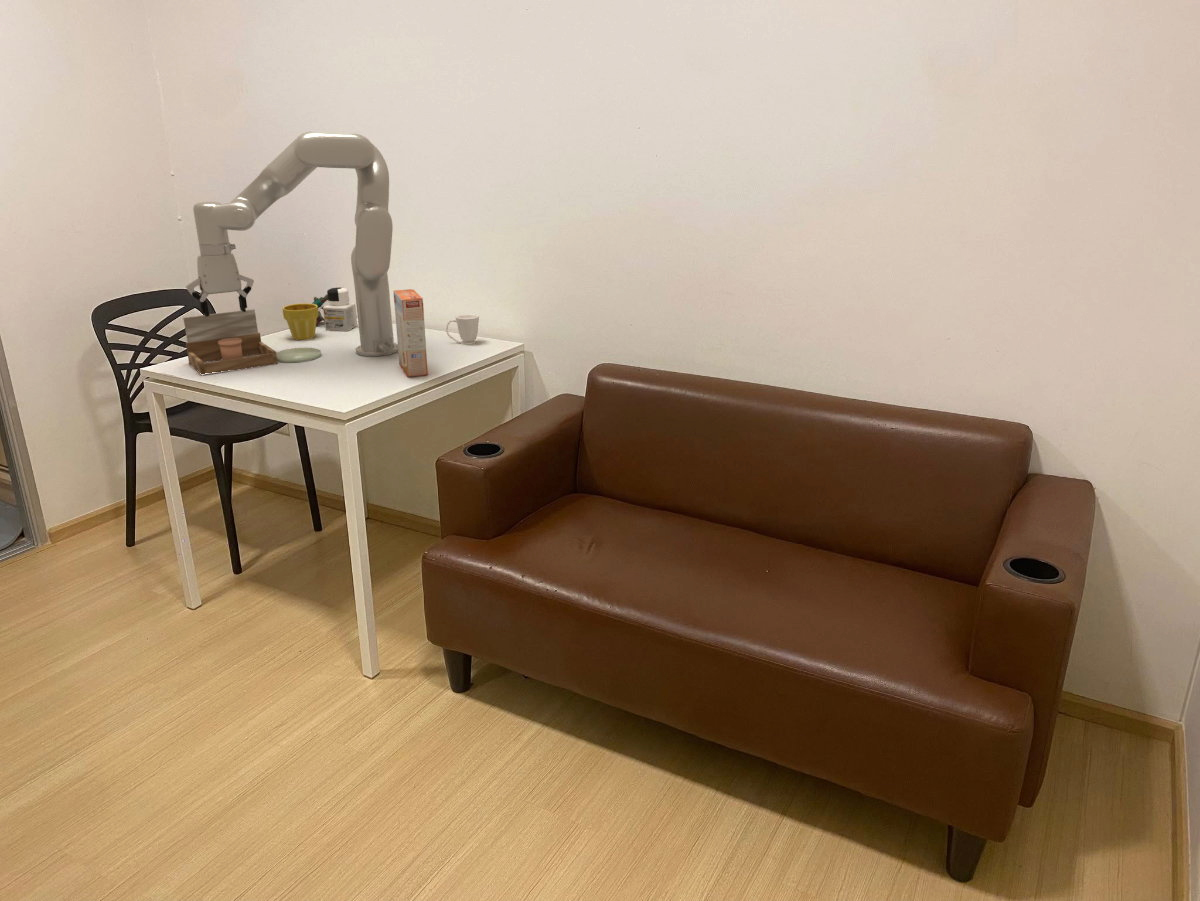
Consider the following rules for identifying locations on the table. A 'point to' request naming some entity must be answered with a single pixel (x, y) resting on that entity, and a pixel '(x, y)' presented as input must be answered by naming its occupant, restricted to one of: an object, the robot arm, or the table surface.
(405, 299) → the cracker box
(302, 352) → the pale green disc
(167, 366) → the table surface
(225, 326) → the wooden drawer
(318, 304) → the binoculars
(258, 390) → the table surface
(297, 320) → the plant pot
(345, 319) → the container
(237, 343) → the clay pot
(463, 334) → the cup
